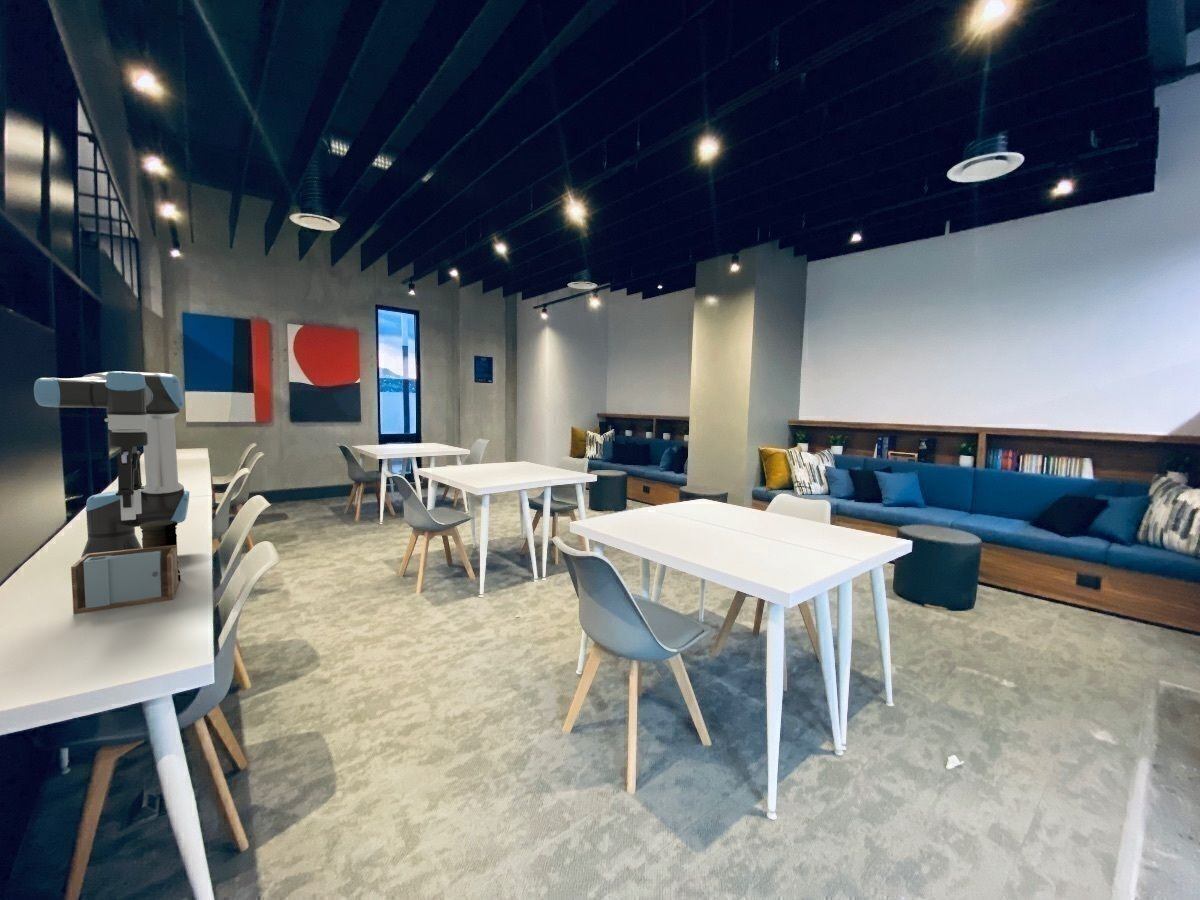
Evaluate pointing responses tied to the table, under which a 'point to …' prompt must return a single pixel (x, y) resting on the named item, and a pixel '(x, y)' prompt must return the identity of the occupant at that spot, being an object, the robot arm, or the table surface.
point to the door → (122, 578)
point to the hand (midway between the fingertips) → (131, 516)
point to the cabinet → (168, 588)
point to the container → (159, 535)
